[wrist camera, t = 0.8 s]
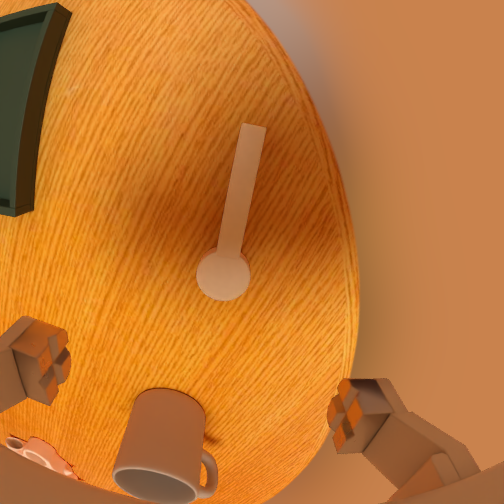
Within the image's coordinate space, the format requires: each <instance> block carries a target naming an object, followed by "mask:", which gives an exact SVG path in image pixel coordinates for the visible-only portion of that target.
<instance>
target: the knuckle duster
mask: <svg viewBox="0 0 504 504" xmlns="http://www.w3.org/2000/svg"><path fill="white" fill-rule="evenodd" d="M6 444H7V446H8V447H9V449H11V450H13V451H14V452H16V453H18V454H20V455H22V456H24V457H26V458H28V459H30V460H32V461H34V462H36V463H38V464H40V465H43V466H45V467H47V468H49V469H52V470H54V471H56V472H59V473H61V474H63V475H66V476H68V477H71V478H73V479H76V480H78V477H77V475H75V474H74V473H73V471H72V467H71V466H70V465H69V464H68V463H67V462H66V461H64V460H63V459H62V458H61V457H60V456H59V455H58V454H57V453H56V450H55V449H54V448H53V447H52V446H51V445H49V444H48V443H46V442H45V441H43V440H41V439H39V438H35V437H31V438H30V439H29V441H28V442H25V441H23V440H20V439H17V438H14V437H8V438H6Z"/></svg>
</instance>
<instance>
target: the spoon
mask: <svg viewBox="0 0 504 504" xmlns="http://www.w3.org/2000/svg"><path fill="white" fill-rule="evenodd" d="M266 130H267V128H266V127H261V126H257V125H252V124H247V123H242V124H241V129H240V133H239V138H238V143H237V147H236V152H235V157H234V162H233V167H232V171H231V176H230V181H229V186H228V191H227V197H226V202H225V207H224V212H223V217H222V223H221V228H220V233H219V239H218V244H217V247H215V248H212V249H210V250H209V251H207V252H206V253H205V254H204V255H203V256H202V258H201V260H200V262H199V265H198V268H197V271H196V279H197V283H198V286H199V288H200V289H201V290H202V292H203V293H204V294H206V295H207V296H208V297H210V298H212V299H214V300H218V301H230V300H233V299H236V298H238V297H239V296H241V295H242V294H243V293H244V292H245V291H246V289H247V288H248V286H249V283H250V267H249V263H248V261H247V259H246V257H245V256H244V255H243V254H242V253H241V247H242V242H243V238H244V233H245V228H246V223H247V218H248V214H249V209H250V204H251V199H252V195H253V190H254V185H255V181H256V176H257V171H258V167H259V162H260V157H261V153H262V148H263V143H264V139H265V134H266Z"/></svg>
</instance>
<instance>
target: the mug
mask: <svg viewBox="0 0 504 504" xmlns="http://www.w3.org/2000/svg"><path fill="white" fill-rule="evenodd" d="M204 430H205V414H204V411H203V409H202V407H201V406H200V405H199V404H198V403H197V402H196V401H195V400H194V399H192V398H191V397H189V396H187V395H185V394H183V393H181V392H178V391H175V390H170V389H151V390H148V391H145V392H143V393H141V394H140V395H139V396H138V397H137V399H136V400H135V403H134V405H133V408H132V411H131V415H130V418H129V421H128V424H127V427H126V430H125V433H124V436H123V440H122V443H121V446H120V449H119V452H118V455H117V458H116V462H115V465H114V468H113V473H112V477H113V480H114V482H115V483H116V484H117V485H118V486H119V487H120V488H121V489H122V490H124V491H125V492H127V493H128V494H130V495H132V496H134V497H136V498H139V499H142V500H146V501H150V502H155V503H160V504H189V503H191V502H193V501H195V500H196V499H197V497H198V498H209V497H211V496H212V495H213V494H214V492H215V491H216V488H217V484H218V469H217V464H216V461H215V459H214V457H213V456H212V455H211V454H210V453H209V452H207V451H206V450H204V449H203V438H204ZM201 462H202V463H203V464H204V465H205V467H206V470H207V483H206V486H205V487H203V486H201V485H200V472H201Z"/></svg>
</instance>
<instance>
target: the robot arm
mask: <svg viewBox="0 0 504 504" xmlns="http://www.w3.org/2000/svg"><path fill="white" fill-rule="evenodd" d="M68 342H69V341H68V335H67V332H66V331H65V330H64V329H62V328H59V327H56V326H53V325H51V324H48V323H45V322H43V321H40V320H37V319H34V318H31V317H29V316H22V317H21V318H20V319H19V320H18V321H17V322H15V323H14V324H13V325H12V326H11V327H10V328H9V329H8V330H7V331H6V332H5V333H4V334H3V335H2V336H1V337H0V413H1V412H3V411H5V410H7V409H9V408H10V407H12V406H14V405H16V404H17V403H19V402H21V401H23V400H25V399H26V398H27V397H28V398H31V399H33V400H36V401H38V402H41V403H43V404H46V405H48V406H50V405H51V403H52V402H53V400H54V398H55V397H56V395H57V394H58V392H59V390H58V386H57V385H59V384H61V383H64V382H65V381H66V379H67V377H68V375H69V372H70V368H71V355H70V352H69V351H68V350H67V348H66V347H65V346H66V344H67V343H68ZM337 389H338V392H339V394H337V395H336V396H335V397H333V398H332V399H331V401H330V404H329V406H328V411H327V421H328V424H329V427H330V428H331V429H332V430H334V431H335V434H334V436H333V441H334V444H335V447H336V451H337V454H344V453H345V454H346V453H362V454H363V455H364V456H365V457H366V458H367V459H368V460H369V461H370V462H371V463H372V464H373V465H374V466H375V467H376V468H377V469H378V470H379V471H380V472H381V473H382V474H383V475H384V476H385V477H386V478H387V479H388V480H389V481H390V482H391V483H392V484H394V485H395V486H396V487H397V488H398V489H399V490H398V491H397V492H395V493H394V494H393V495H392V496H391V497H390V498H389V500H388V501H387V502H385V503H380V504H504V461H503V462H501V463H499V464H497V465H495V466H493V467H491V468H488V469H486V470H484V471H482V472H481V471H480V469H479V467H478V466H477V464H476V462H475V461H474V459H473V457H472V456H471V454H470V453H469V451H468V449H467V448H466V446H465V445H464V444H462V443H461V442H459V441H457V440H455V439H454V438H452V437H451V436H449V435H448V434H446V433H444V432H443V431H441V430H440V429H438V428H437V427H435V426H433V425H432V424H430V423H429V422H427V421H426V420H424V419H422V418H421V417H419V416H418V415H416V414H415V413H413V412H408V411H407V409H406V407H405V405H404V404H403V402H402V401H401V399H400V397H399V395H398V394H397V392H396V390H395V389H394V387H393V385H392V384H391V382H390V381H389V380H388V379H385V378H383V379H382V378H381V379H349V378H343V380H342V381H341V382H340V383H339V385H338V387H337ZM0 504H160V503H155V502H150V501H146V500H142V499H137V498H133V497H130V496H126V495H122V494H119V493H115V492H112V491H108V490H105V489H102V488H99V487H96V486H93V485H90V484H87V483H84V482H82V481H79V480H76V479H73V478H71V477H68V476H66V475H63V474H61V473H59V472H56V471H54V470H52V469H49V468H47V467H45V466H43V465H40V464H38V463H36V462H34V461H32V460H30V459H28V458H26V457H24V456H22V455H20V454H18V453H16V452H14V451H13V450H11V449H9V448H7V447H5V446H4V445H2V444H0Z"/></svg>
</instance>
